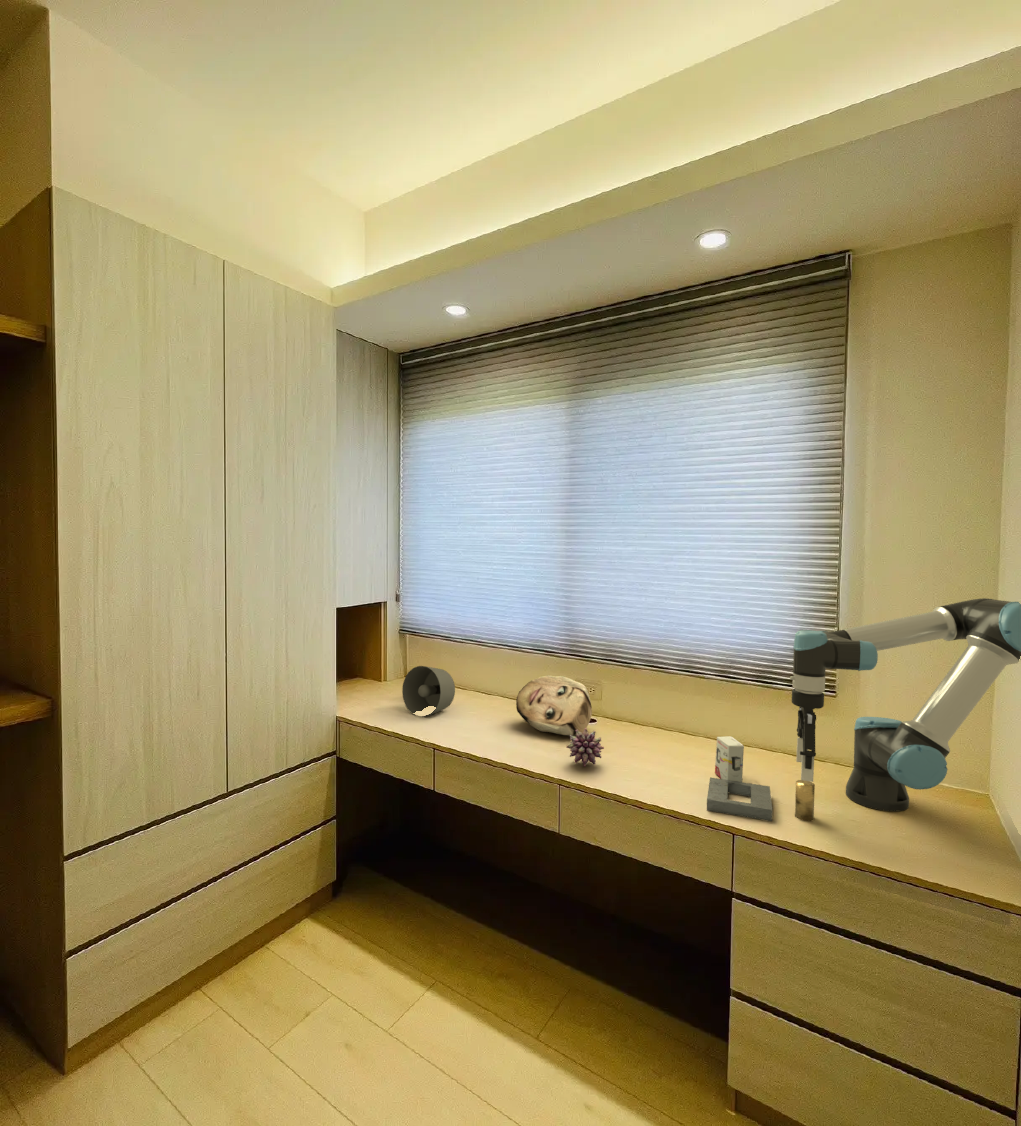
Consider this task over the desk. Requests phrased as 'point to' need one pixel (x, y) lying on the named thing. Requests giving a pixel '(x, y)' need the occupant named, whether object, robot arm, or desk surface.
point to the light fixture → (428, 689)
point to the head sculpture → (555, 705)
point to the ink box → (729, 759)
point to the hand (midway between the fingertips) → (804, 771)
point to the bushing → (804, 800)
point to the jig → (755, 809)
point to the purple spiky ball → (585, 747)
